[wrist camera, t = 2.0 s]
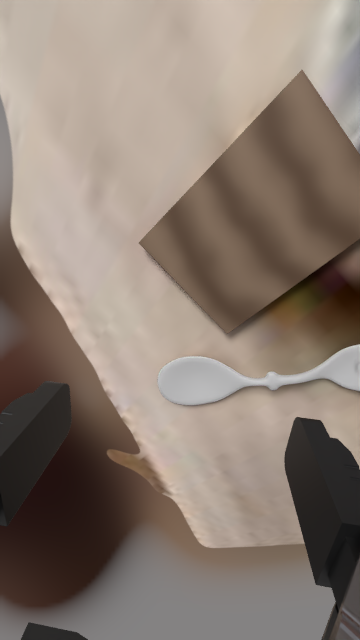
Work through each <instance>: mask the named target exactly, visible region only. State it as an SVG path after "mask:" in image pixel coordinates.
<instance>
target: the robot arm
mask: <svg viewBox="0 0 360 640" xmlns="http://www.w3.org/2000/svg"><path fill="white" fill-rule="evenodd" d="M70 426H71V402H70V388H69V385H68V384H65V383H57V382H50V381H45V382H44V383H43V384H42V385H41V386H40V387H39V388H38V389H37V390H36V391H35V392H34V393H33V394H31V393H27V394H25V395H24V396H22V397H20V398H18V399H16V400H14V401H13V402H12V403H11V404H9V405H8V406H7V407H6V408H5V409H4V410H3V411H2V414H0V525H3V526H8V524H9V523H10V521H11V520H12V518H13V517H14V515H15V514H16V512H17V511H18V509H19V508H20V506H21V505H22V503H23V502H24V500H25V498H26V497H27V496H28V494H29V492H30V491H31V489H32V488H33V486H34V485H35V483H36V482H37V480H38V479H39V477H40V476H41V474H42V473H43V471H44V470H45V468H46V467H47V465H48V464H49V462H50V460H51V459H52V457H53V456H54V455H55V453H56V452H57V450H58V448H59V447H60V445H61V444H62V442H63V441H64V439H65V438H66V436H67V434H68V432H69V429H70ZM285 471H286V475H287V479H288V482H289V486H290V490H291V494H292V497H293V501H294V505H295V509H296V512H297V516H298V520H299V524H300V527H301V531H302V535H303V539H304V542H305V546H306V549H307V553H308V557H309V561H310V565H311V568H312V572H313V576H314V579H315V583H316V585H320V586H325V587H331V588H332V590H333V593H334V597H335V600H336V602H335V604H334V607H333V609H332V612H331V614H330V618H329V620H328V623H327V626H326V628H325V631H324V634H323V636H322V639H321V640H360V470H359V466H358V464H357V462H356V460H355V459H354V457H353V455H352V453H351V452H350V451H349V450H348V449H347V448H346V447H345V446H344V445H343V444H342V443H341V442H340V441H339V440H338V439H336V438H330V437H329V435H328V433H327V431H326V429H325V427H324V425H323V423H322V422H321V421H320V420H314V419H307V418H300V417H296V418H295V420H294V423H293V426H292V430H291V433H290V437H289V440H288V444H287V448H286V451H285ZM21 640H88V639H86V638H85V637H83V636H81V635H80V634H79V633H77V632H72V631H67V630H63V629H58V628H53V627H48V626H44V625H38V624H34V623H28V625H27V627H26V629H25V632H24V634H23V637H22V638H21Z"/></svg>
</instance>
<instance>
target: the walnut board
mask: <svg viewBox="0 0 360 640" xmlns="http://www.w3.org/2000/svg"><path fill="white" fill-rule="evenodd" d="M359 239H360V154H359V153H358V151H357V150H356V148H355V147H354V145H353V144H352V142H351V141H350V139H349V138H348V137H347V135H346V134H345V132H344V131H343V129H342V128H341V126H340V125H339V123H338V122H337V120H336V119H335V117H334V116H333V114H332V113H331V111H330V110H329V108H328V107H327V106H326V104H325V103H324V101H323V100H322V98H321V97H320V95H319V94H318V92H317V91H316V89H315V88H314V86H313V85H312V83H311V82H310V80H309V79H308V77H307V76H306V75H305V73H304V72H303V70H301V71H300V72H299V73H298V74H297V76H296V77H295V78H294V79H293V80H292V81H291V82H290V83H289V84H288V85H287V86H286V87H285V88H284V89H283V90H282V91H281V92H280V94H279V95H278V96H277V97H276V98H275V99H274V100H273V101H272V102H271V103H270V104H269V105H268V106H267V107H266V108H265V109H264V111H263V112H262V113H261V114H260V115H259V116H258V117H257V118H256V119H255V120H254V121H253V122H252V123H251V124H250V125H249V126H248V127H247V129H246V130H245V131H244V132H243V133H242V134H241V135H240V136H239V137H238V138H237V139H236V140H235V141H234V142H233V143H232V144H231V145H230V147H229V148H228V149H227V150H226V151H225V152H224V153H223V154H222V155H221V156H220V157H219V158H218V159H217V160H216V161H215V162H214V163H213V165H212V166H211V167H210V168H209V169H208V170H207V171H206V172H205V173H204V174H203V175H202V176H201V177H200V178H199V179H198V180H197V182H196V183H195V184H194V185H193V186H192V187H191V188H190V189H189V190H188V191H187V192H186V193H185V194H184V195H183V196H182V197H181V198H180V200H179V201H178V202H177V203H176V204H175V205H174V206H173V207H172V208H171V209H170V210H169V211H168V212H167V213H166V214H165V215H164V216H163V218H162V219H161V220H160V221H159V222H158V223H157V224H156V225H155V226H154V227H153V228H152V229H151V230H150V231H149V232H148V233H147V234H146V236H145V237H144V238H143V239H142V240H141V241H140V242H139V244H140V245H141V246H142V247H143V248H144V249H145V250H146V251H147V252H148V253H149V254H150V255H151V256H152V257H153V258H154V259H155V260H156V261H157V262H158V263H159V264H160V265H161V266H162V267H163V268H164V269H165V270H166V272H167V273H168V274H169V275H170V276H171V277H172V278H173V279H174V280H175V281H176V282H177V283H178V284H179V285H180V286H181V287H182V288H183V289H184V290H185V291H186V292H187V293H188V294H189V295H190V296H191V297H192V298H193V299H194V300H195V301H196V302H197V303H198V304H199V305H200V306H201V308H202V309H203V310H204V311H205V312H206V313H207V314H208V315H209V316H210V317H211V318H212V319H213V320H214V321H215V322H216V323H217V324H218V325H219V326H220V327H221V328H222V329H223V330H224V331H225V332H226V333H227V334H228V333H229V332H231V331H232V330H233V329H235V328H236V327H238V326H239V325H240V324H242V323H243V322H245V321H246V320H247V319H249V318H250V317H252V316H253V315H254V314H256V313H257V312H258V311H260V310H261V309H263V308H264V307H265V306H267V305H268V304H270V303H271V302H272V301H274V300H275V299H277V298H278V297H279V296H281V295H282V294H284V293H285V292H286V291H288V290H289V289H291V288H292V287H293V286H295V285H296V284H297V283H299V282H300V281H302V280H303V279H304V278H306V277H307V276H309V275H310V274H311V273H313V272H314V271H316V270H317V269H318V268H320V267H321V266H323V265H324V264H325V263H327V262H328V261H330V260H331V259H332V258H334V257H335V256H336V255H338V254H339V253H341V252H342V251H343V250H345V249H346V248H348V247H349V246H350V245H352V244H353V243H355V242H356V241H357V240H359Z"/></svg>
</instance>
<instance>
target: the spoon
mask: <svg viewBox="0 0 360 640" xmlns="http://www.w3.org/2000/svg"><path fill="white" fill-rule="evenodd" d="M321 378H325V379H329V380H331V381H333V382H335V383H337V384H339V385H340V386H342V387H345V388H348V389H351V390H356V391H360V344H359V345H354V346H350V347H347V348H344V349H342V350H340V351H338V352H337V353H335V354H334V355H332V356H331V357H330V358H328V359H327V360H326V361H324V362H323V363H322V364H320V365H319V366H317V367H315V368H313V369H311V370H309V371H307V372H304V373H300V374H295V375H279V374H277V373H276V372H273V371H271V372H268V373H267V375H266V376H265V377H264V378H251V377H247V376H244V375H242V374H240V373H238V372H237V371H235V370H233V369H232V368H230V367H228V366H227V365H225V364H223V363H221V362H219V361H217V360H214V359H211V358H207V357H201V356H189V357H182V358H178V359H175V360H173V361H171V362H169V363H168V364H166V365H165V366H164V367H163V368H162V369H161V370H160V372H159V374H158V387H159V390H160V392H161V394H162V395H163V396H164V397H165V398H166V399H167V400H169V401H171V402H173V403H176V404H180V405H190V406H191V405H201V404H207V403H212V402H216V401H219V400H221V399H223V398H225V397H227V396H229V395H230V394H232V393H234V392H235V391H237V390H239V389H241V388H243V387H247V386H267V387H268V388H269V389H270V390H277V389H278V388H279V387H280V386H282V385H288V384H296V383H302V382H307V381H311V380H315V379H321Z"/></svg>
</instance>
